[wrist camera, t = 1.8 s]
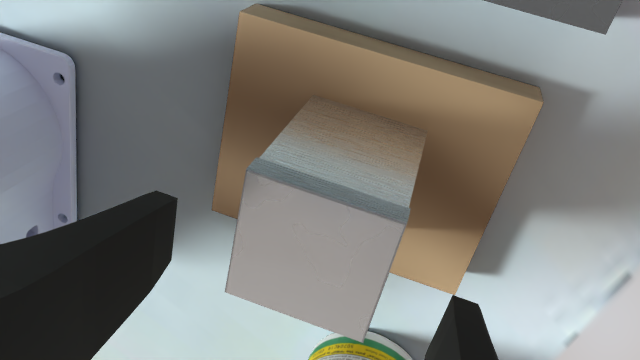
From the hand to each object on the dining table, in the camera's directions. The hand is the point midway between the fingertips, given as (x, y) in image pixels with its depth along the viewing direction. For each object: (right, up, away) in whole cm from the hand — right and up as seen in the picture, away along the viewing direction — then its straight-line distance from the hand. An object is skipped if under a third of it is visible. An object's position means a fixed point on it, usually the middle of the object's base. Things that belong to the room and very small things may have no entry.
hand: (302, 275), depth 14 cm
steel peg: (+2, +3, +6) cm, 7 cm away
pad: (+2, +4, +7) cm, 8 cm away
